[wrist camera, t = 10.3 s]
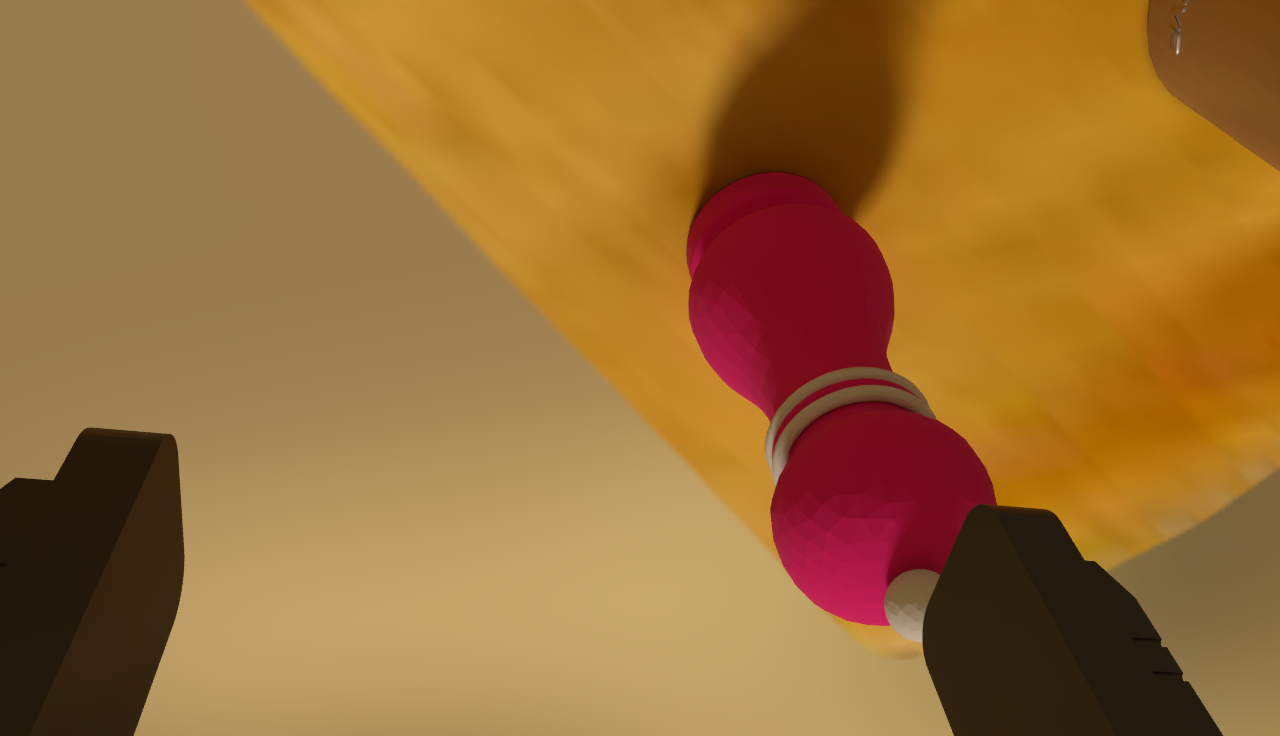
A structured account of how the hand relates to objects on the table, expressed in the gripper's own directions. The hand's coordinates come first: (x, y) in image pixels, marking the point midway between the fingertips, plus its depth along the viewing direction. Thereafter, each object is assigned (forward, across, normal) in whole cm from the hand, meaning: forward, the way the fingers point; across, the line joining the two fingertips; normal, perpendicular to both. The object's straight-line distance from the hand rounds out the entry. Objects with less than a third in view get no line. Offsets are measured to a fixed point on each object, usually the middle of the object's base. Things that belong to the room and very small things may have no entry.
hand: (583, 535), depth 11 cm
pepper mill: (+30, -10, +10) cm, 33 cm away
